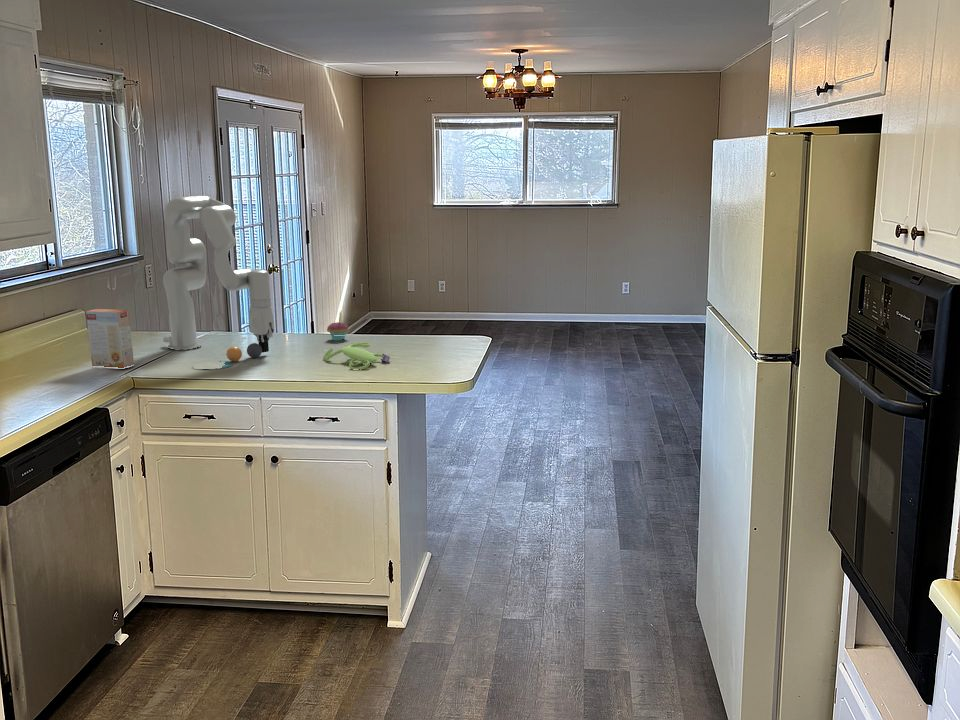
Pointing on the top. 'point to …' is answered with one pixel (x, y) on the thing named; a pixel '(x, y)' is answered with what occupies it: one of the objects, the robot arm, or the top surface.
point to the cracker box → (110, 338)
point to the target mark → (227, 364)
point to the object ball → (234, 354)
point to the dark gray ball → (254, 350)
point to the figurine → (357, 355)
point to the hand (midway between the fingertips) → (264, 351)
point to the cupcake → (337, 329)
